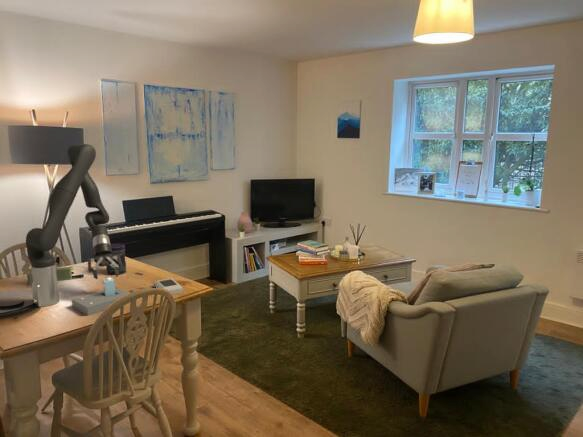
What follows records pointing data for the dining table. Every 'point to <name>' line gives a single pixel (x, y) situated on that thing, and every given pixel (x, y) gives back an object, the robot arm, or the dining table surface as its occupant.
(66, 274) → the handheld radio
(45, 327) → the dining table surface
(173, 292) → the keypad
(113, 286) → the pale blue tall block
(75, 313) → the dining table surface
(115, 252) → the storage jar
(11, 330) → the dining table surface
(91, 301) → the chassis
